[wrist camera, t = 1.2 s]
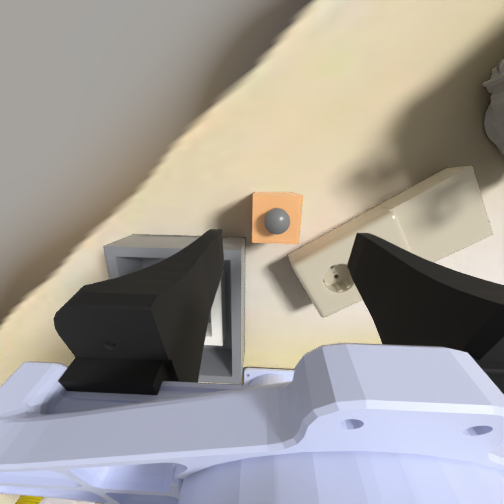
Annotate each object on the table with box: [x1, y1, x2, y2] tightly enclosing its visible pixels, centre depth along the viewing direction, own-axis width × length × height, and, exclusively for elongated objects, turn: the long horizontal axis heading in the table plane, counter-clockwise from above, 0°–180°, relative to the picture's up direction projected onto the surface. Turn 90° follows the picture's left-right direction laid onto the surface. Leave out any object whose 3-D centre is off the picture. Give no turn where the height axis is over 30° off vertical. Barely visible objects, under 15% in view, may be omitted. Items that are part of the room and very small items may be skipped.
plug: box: [252, 192, 303, 244], centre depth 20 cm, size 4×4×7 cm
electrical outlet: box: [288, 166, 493, 317], centre depth 22 cm, size 7×4×18 cm
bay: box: [103, 234, 245, 384], centre depth 25 cm, size 16×13×5 cm
